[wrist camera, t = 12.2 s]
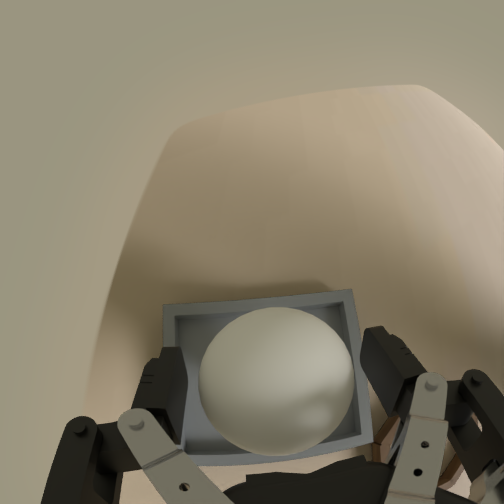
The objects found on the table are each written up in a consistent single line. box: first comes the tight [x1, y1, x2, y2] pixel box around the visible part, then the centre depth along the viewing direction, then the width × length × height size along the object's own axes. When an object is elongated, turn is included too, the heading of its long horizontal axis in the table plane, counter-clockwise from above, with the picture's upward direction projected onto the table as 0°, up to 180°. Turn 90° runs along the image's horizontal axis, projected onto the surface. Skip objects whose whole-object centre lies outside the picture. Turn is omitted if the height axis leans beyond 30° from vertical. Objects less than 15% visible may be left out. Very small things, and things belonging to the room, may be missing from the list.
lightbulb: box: [198, 307, 354, 456], centre depth 13 cm, size 6×6×11 cm
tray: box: [163, 289, 373, 466], centre depth 18 cm, size 13×11×2 cm
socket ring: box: [372, 413, 478, 490], centre depth 15 cm, size 10×10×2 cm
